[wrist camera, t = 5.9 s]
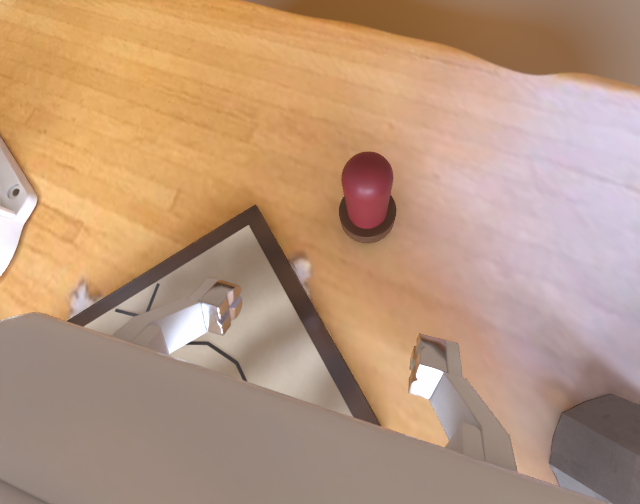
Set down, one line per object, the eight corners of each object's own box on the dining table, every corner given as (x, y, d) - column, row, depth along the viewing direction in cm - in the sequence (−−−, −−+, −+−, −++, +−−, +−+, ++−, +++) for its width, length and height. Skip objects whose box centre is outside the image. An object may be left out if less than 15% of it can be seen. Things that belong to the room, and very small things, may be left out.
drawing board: (14, 355, 30) (-2, 357, 28) (256, 205, 29) (251, 200, 28) (79, 610, 24) (63, 626, 23) (383, 429, 23) (384, 435, 22)
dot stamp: (332, 213, 28) (313, 157, 18) (375, 187, 28) (379, 116, 18) (359, 254, 27) (354, 218, 17) (403, 227, 26) (424, 175, 17)
